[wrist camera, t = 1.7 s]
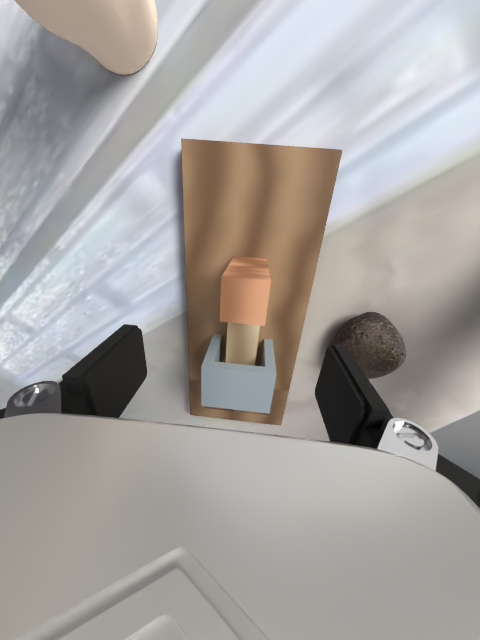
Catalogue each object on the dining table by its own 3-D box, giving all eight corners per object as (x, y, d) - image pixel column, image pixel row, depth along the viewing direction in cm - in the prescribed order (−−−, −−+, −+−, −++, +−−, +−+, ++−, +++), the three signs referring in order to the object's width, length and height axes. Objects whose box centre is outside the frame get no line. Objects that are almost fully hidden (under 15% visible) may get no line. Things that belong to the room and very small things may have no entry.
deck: (336, 154, 23) (342, 149, 22) (279, 415, 40) (280, 425, 39) (187, 144, 24) (181, 138, 22) (193, 406, 41) (190, 414, 39)
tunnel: (272, 339, 31) (276, 374, 24) (267, 372, 34) (269, 413, 27) (213, 333, 32) (201, 366, 25) (213, 367, 34) (201, 405, 27)
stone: (358, 354, 38) (431, 357, 29) (333, 386, 34) (409, 401, 25) (336, 304, 36) (407, 292, 27) (306, 331, 32) (380, 328, 23)
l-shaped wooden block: (266, 258, 27) (270, 281, 18) (252, 376, 34) (250, 433, 25) (233, 255, 27) (221, 276, 18) (226, 373, 35) (215, 429, 26)
